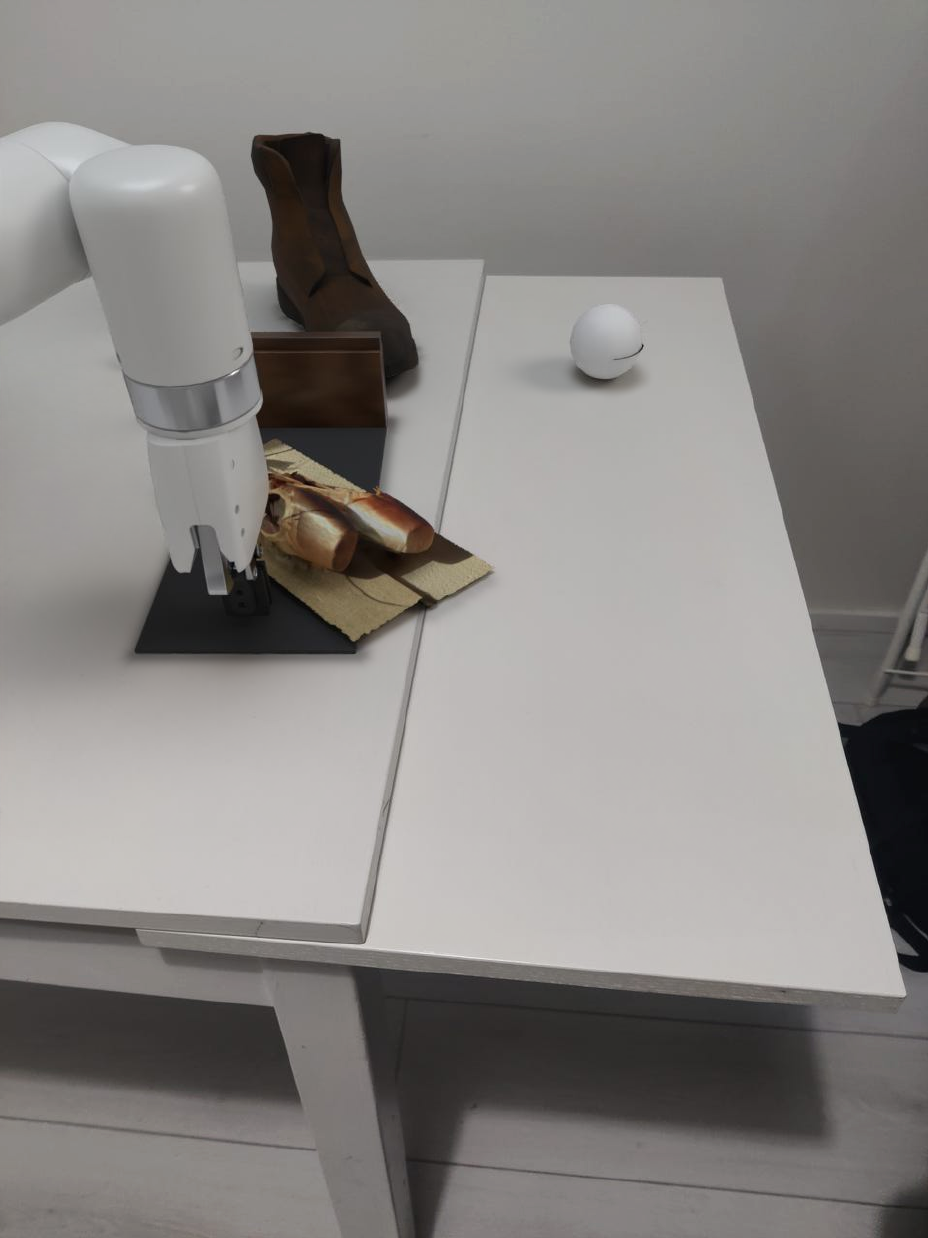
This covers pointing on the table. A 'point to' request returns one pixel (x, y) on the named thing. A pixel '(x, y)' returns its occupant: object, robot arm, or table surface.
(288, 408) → the brown wooden panel
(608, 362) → the white ovoid
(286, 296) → the boot
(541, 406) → the table surface
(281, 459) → the ballet pointe shoes
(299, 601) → the black display mat
